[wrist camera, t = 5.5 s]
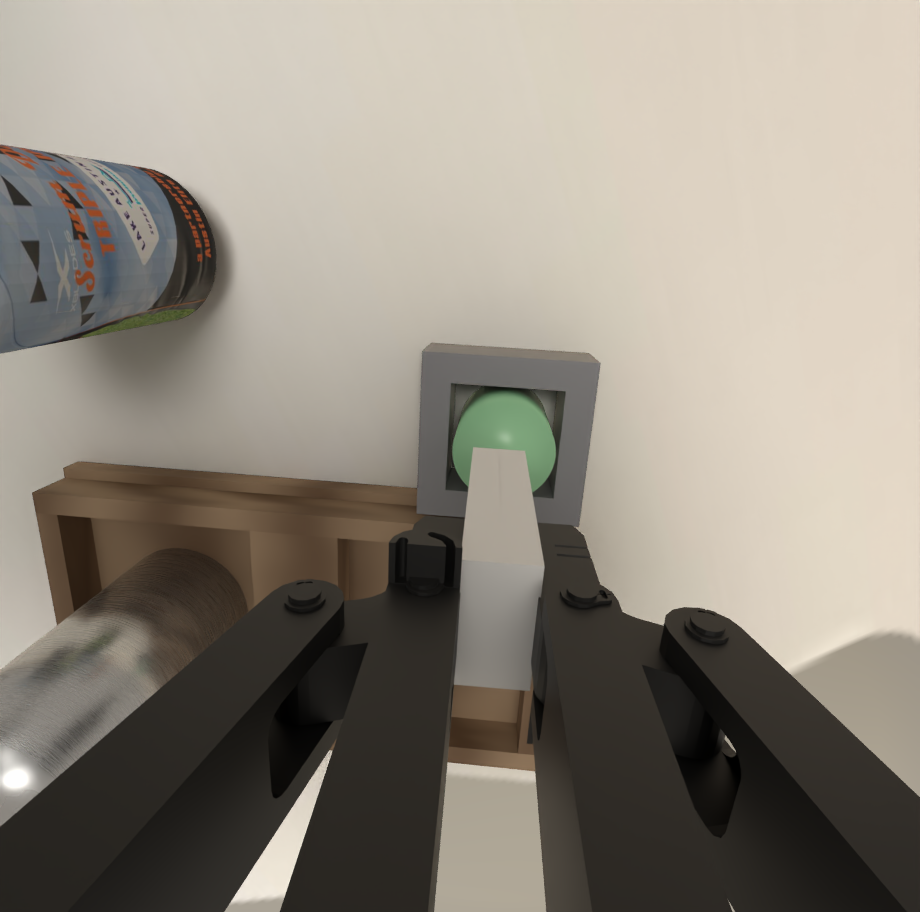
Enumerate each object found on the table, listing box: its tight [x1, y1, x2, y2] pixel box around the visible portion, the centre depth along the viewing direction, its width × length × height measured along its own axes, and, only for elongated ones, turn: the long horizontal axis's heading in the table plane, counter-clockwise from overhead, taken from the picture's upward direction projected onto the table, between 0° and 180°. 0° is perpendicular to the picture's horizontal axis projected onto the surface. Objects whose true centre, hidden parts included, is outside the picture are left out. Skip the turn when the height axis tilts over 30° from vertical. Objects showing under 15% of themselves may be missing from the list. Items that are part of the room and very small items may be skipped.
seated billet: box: [0, 548, 248, 826], centre depth 23 cm, size 6×6×12 cm
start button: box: [452, 386, 556, 492], centre depth 24 cm, size 4×4×4 cm
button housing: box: [416, 343, 600, 527], centre depth 24 cm, size 7×7×3 cm
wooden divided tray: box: [32, 462, 535, 771], centre depth 28 cm, size 24×14×3 cm, turn 87°
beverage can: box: [0, 145, 216, 354], centre depth 19 cm, size 6×7×12 cm
